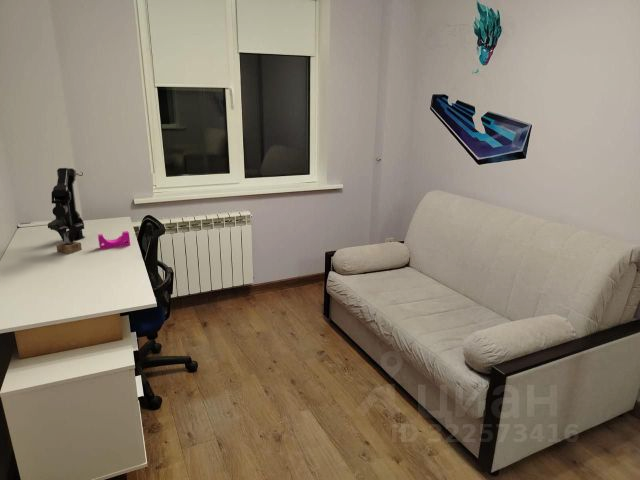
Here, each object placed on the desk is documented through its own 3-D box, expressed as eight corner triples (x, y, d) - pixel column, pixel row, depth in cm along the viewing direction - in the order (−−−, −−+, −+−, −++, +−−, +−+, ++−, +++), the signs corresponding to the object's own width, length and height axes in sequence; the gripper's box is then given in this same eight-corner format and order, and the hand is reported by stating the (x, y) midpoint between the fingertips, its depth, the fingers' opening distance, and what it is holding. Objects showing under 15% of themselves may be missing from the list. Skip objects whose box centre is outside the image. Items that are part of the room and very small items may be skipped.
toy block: (128, 242, 250) (127, 230, 248) (130, 245, 245) (128, 232, 243) (99, 246, 243) (97, 233, 240) (100, 249, 237) (98, 236, 235)
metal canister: (64, 251, 233) (61, 233, 230) (69, 249, 236) (67, 231, 233) (69, 252, 232) (66, 233, 229) (74, 250, 235) (71, 232, 232)
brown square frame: (57, 252, 231) (56, 245, 230) (70, 248, 239) (68, 241, 238) (69, 254, 229) (68, 246, 228) (81, 249, 236) (80, 242, 235)
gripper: (35, 214, 224) (41, 244, 228) (64, 217, 218) (69, 248, 222) (54, 210, 234) (59, 238, 238) (82, 213, 228) (87, 242, 233)
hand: (68, 241), depth 232 cm, fingers open, 5 cm apart
